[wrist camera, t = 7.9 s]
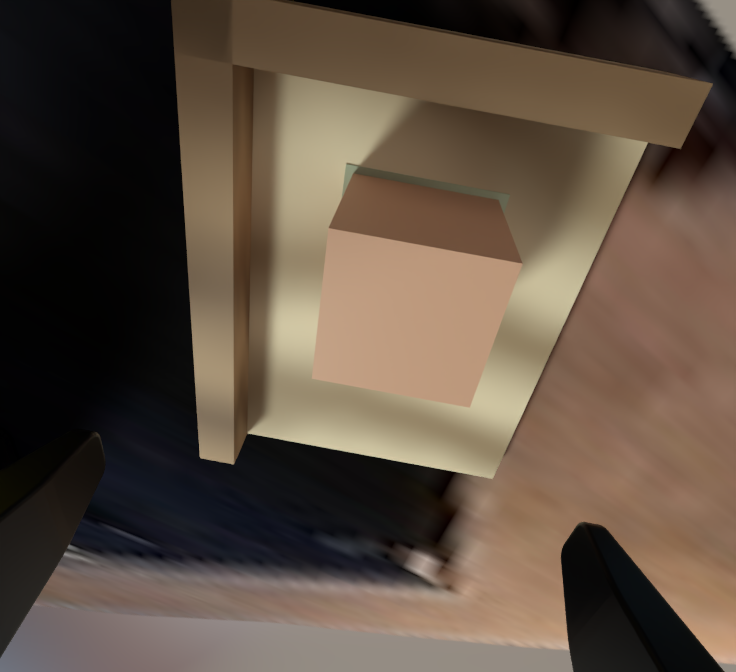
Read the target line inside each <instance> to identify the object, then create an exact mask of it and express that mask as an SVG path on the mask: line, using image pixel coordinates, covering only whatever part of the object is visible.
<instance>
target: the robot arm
mask: <svg viewBox="0 0 736 672" xmlns="http://www.w3.org/2000/svg"><path fill="white" fill-rule="evenodd" d="M104 470H105V457H104V452H103V447H102V443H101V438H100V435H99V434H98V433H97V432H94V431H88V430H83V429H73V430H71V431H69V432H67V433H65V434H63V435H62V436H60V437H58V438H56V439H55V440H53V441H51V442H49V443H48V444H46V445H44V446H42V447H40V448H39V449H37V450H35V451H33V452H32V453H30V454H28V455H26V456H25V457H23V458H21V459H19V460H18V459H17V457H16V454H15V451H14V449H13V446H12V443H11V441H10V438H9V436H8V434H6V433H5V432H4V431H2V430H0V658H1V656H2V654H3V653H4V651H5V650H6V648H7V646H8V645H9V643H10V641H11V640H12V638H13V637H14V635H15V633H16V631H17V630H18V628H19V627H20V625H21V624H22V622H23V620H24V619H25V617H26V615H27V614H28V612H29V611H30V609H31V607H32V606H33V604H34V602H35V601H36V599H37V598H38V596H39V594H40V593H41V591H42V589H43V588H44V586H45V585H46V583H47V581H48V580H49V578H50V576H51V575H52V573H53V572H54V570H55V568H56V567H57V565H58V563H59V562H60V560H61V558H62V557H63V555H64V553H65V551H66V549H67V547H68V545H69V543H70V542H71V540H72V538H73V535H74V533H75V531H76V529H77V527H78V525H79V523H80V521H81V519H82V517H83V515H84V513H85V511H86V509H87V506H88V504H89V502H90V500H91V498H92V496H93V494H94V492H95V490H96V488H97V486H98V484H99V482H100V479H101V477H102V475H103V473H104ZM561 564H562V575H563V587H564V599H565V611H566V623H567V633H568V642H569V649H570V655H571V661H572V666H573V671H574V672H724V671H723V669H722V668H721V667H720V666H719V665H718V663H717V662H716V661H715V660H714V659H713V657H712V656H711V655H710V654H709V652H708V651H707V650H706V649H705V648H704V646H703V645H702V644H701V643H700V642H699V640H698V639H697V638H696V637H695V635H694V634H693V633H692V632H691V631H690V629H689V628H688V627H687V626H686V625H685V623H684V622H683V621H682V620H681V619H680V617H679V616H678V615H677V614H676V612H675V611H674V610H673V609H672V608H671V606H670V605H669V604H668V603H667V602H666V600H665V599H664V598H663V597H662V595H661V594H660V593H659V592H658V591H657V589H656V588H655V587H654V586H653V585H652V583H651V582H650V581H649V580H648V579H647V577H646V576H645V575H644V574H643V572H642V571H641V570H640V569H639V568H638V566H637V565H636V564H635V563H634V562H633V560H632V559H631V558H630V557H629V556H628V554H627V553H626V552H625V551H624V549H623V548H622V547H621V546H620V545H619V543H618V542H617V541H616V540H615V539H614V537H613V536H612V535H611V534H610V532H609V531H608V530H607V529H606V528H605V527H603V526H601V525H598V524H592V523H587V522H581V523H579V524H578V525H577V526H576V528H575V529H574V531H573V532H572V533H571V535H570V536H569V538H568V539H567V541H566V542H565V544H564V546H563V548H562V552H561Z"/></svg>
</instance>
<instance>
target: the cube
mask: <svg viewBox="0 0 736 672" xmlns="http://www.w3.org/2000/svg"><path fill="white" fill-rule="evenodd" d="M522 264H523V263H522V261H521V258H520V255H519V253H518V250H517V247H516V245H515V242H514V239H513V237H512V234H511V231H510V229H509V226H508V224H507V221H506V218H505V216H504V213H503V210H502V208H501V205H500V202H499V200H496V199H491V198H485V197H480V196H474V195H469V194H463V193H458V192H453V191H447V190H442V189H436V188H431V187H425V186H420V185H414V184H409V183H404V182H398V181H393V180H387V179H382V178H376V177H371V176H365V175H360V174H355V173H353V175H352V177H351V179H350V181H349V184H348V186H347V188H346V190H345V193H344V195H343V197H342V199H341V201H340V204H339V206H338V208H337V210H336V212H335V215H334V217H333V219H332V221H331V223H330V226H329V228H328V236H327V245H326V254H325V263H324V273H323V282H322V291H321V300H320V309H319V318H318V327H317V336H316V345H315V354H314V363H313V372H312V379H316V380H321V381H327V382H332V383H338V384H343V385H349V386H354V387H359V388H365V389H370V390H376V391H381V392H387V393H392V394H398V395H403V396H409V397H414V398H420V399H425V400H431V401H436V402H441V403H447V404H452V405H458V406H463V407H469V408H470V406H471V403H472V400H473V398H474V395H475V392H476V389H477V387H478V384H479V381H480V378H481V376H482V373H483V370H484V368H485V365H486V362H487V359H488V357H489V354H490V351H491V349H492V346H493V343H494V340H495V338H496V335H497V332H498V330H499V327H500V324H501V321H502V319H503V316H504V313H505V311H506V308H507V305H508V302H509V300H510V297H511V294H512V291H513V289H514V286H515V283H516V281H517V278H518V275H519V272H520V270H521V267H522Z"/></svg>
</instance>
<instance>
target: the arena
mask: <svg viewBox="0 0 736 672" xmlns="http://www.w3.org/2000/svg"><path fill="white" fill-rule="evenodd" d="M171 6H172V22H173V38H174V54H175V70H176V86H177V102H178V117H179V133H180V149H181V165H182V181H183V197H184V213H185V228H186V244H187V260H188V276H189V292H190V308H191V324H192V339H193V355H194V371H195V387H196V403H197V419H198V435H199V450H200V458H203V459H208V460H213V461H219V462H224V463H230V464H234V463H235V461H236V459H237V456H238V454H239V451H240V449H241V447H242V444H243V442H244V440H245V437H246V435H247V433H249V434H255V435H260V436H265V437H271V438H276V439H282V440H287V441H292V442H298V443H303V444H308V445H314V446H319V447H325V448H330V449H335V450H341V451H346V452H352V453H357V454H362V455H368V456H373V457H379V458H384V459H389V460H395V461H400V462H406V463H411V464H416V465H422V466H427V467H432V468H438V469H443V470H449V471H454V472H459V473H465V474H470V475H476V476H481V477H486V478H492V479H493V477H494V475H495V472H496V470H497V468H498V466H499V464H500V462H501V459H502V457H503V455H504V453H505V451H506V449H507V446H508V444H509V442H510V440H511V438H512V436H513V433H514V431H515V429H516V427H517V425H518V423H519V420H520V418H521V416H522V414H523V412H524V410H525V407H526V405H527V403H528V401H529V399H530V397H531V395H532V392H533V390H534V388H535V386H536V384H537V382H538V379H539V377H540V375H541V373H542V371H543V369H544V366H545V364H546V362H547V360H548V358H549V356H550V353H551V351H552V349H553V347H554V345H555V343H556V340H557V338H558V336H559V334H560V332H561V330H562V327H563V325H564V323H565V321H566V319H567V317H568V314H569V312H570V310H571V308H572V306H573V304H574V301H575V299H576V297H577V295H578V293H579V291H580V288H581V286H582V284H583V282H584V280H585V278H586V275H587V273H588V271H589V269H590V267H591V265H592V262H593V260H594V258H595V256H596V254H597V252H598V250H599V247H600V245H601V243H602V241H603V239H604V237H605V234H606V232H607V230H608V228H609V226H610V224H611V221H612V219H613V217H614V215H615V213H616V211H617V208H618V206H619V204H620V202H621V200H622V198H623V195H624V193H625V191H626V189H627V187H628V185H629V182H630V180H631V178H632V176H633V174H634V172H635V169H636V167H637V165H638V163H639V161H640V159H641V156H642V154H643V152H644V150H645V148H646V146H647V143H653V144H658V145H664V146H669V147H674V148H681V146H682V144H683V142H684V140H685V138H686V136H687V134H688V132H689V130H690V129H691V127H692V125H693V123H694V121H695V119H696V117H697V115H698V113H699V111H700V109H701V107H702V105H703V103H704V101H705V99H706V97H707V95H708V93H709V91H710V89H711V87H712V85H713V84H712V83H708V82H704V81H700V80H696V79H693V78H689V77H685V76H681V75H677V74H673V73H669V72H665V71H660V70H655V69H650V68H644V67H639V66H634V65H628V64H623V63H618V62H612V61H607V60H602V59H597V58H591V57H586V56H581V55H575V54H570V53H565V52H559V51H554V50H549V49H544V48H538V47H533V46H528V45H522V44H517V43H512V42H506V41H501V40H496V39H491V38H485V37H480V36H475V35H469V34H464V33H459V32H453V31H448V30H443V29H438V28H432V27H427V26H422V25H416V24H411V23H406V22H401V21H395V20H390V19H385V18H379V17H374V16H369V15H363V14H358V13H353V12H348V11H342V10H337V9H332V8H326V7H321V6H316V5H310V4H305V3H300V2H295V1H289V0H171ZM353 173H355V174H360V175H365V176H371V177H376V178H382V179H387V180H393V181H398V182H404V183H409V184H414V185H420V186H425V187H431V188H436V189H442V190H447V191H453V192H458V193H463V194H469V195H474V196H480V197H485V198H491V199H496V200H499V202H500V205H501V208H502V210H503V213H504V216H505V218H506V221H507V224H508V226H509V229H510V231H511V234H512V237H513V239H514V242H515V245H516V247H517V250H518V253H519V255H520V258H521V261H522V263H523V264H522V267H521V270H520V272H519V275H518V278H517V281H516V283H515V286H514V289H513V291H512V294H511V297H510V300H509V302H508V305H507V308H506V311H505V313H504V316H503V319H502V321H501V324H500V327H499V330H498V332H497V335H496V338H495V340H494V343H493V346H492V349H491V351H490V354H489V357H488V359H487V362H486V365H485V368H484V370H483V373H482V376H481V378H480V381H479V384H478V387H477V389H476V392H475V395H474V398H473V400H472V403H471V406H470V408H469V407H463V406H458V405H452V404H447V403H441V402H436V401H431V400H425V399H420V398H414V397H409V396H403V395H398V394H392V393H387V392H381V391H376V390H370V389H365V388H359V387H354V386H349V385H343V384H338V383H332V382H327V381H321V380H316V379H312V372H313V363H314V354H315V345H316V336H317V327H318V318H319V309H320V300H321V291H322V282H323V273H324V263H325V254H326V245H327V236H328V228H329V226H330V223H331V221H332V219H333V217H334V215H335V212H336V210H337V208H338V206H339V204H340V201H341V199H342V197H343V195H344V193H345V190H346V188H347V186H348V184H349V181H350V179H351V177H352V175H353Z"/></svg>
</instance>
